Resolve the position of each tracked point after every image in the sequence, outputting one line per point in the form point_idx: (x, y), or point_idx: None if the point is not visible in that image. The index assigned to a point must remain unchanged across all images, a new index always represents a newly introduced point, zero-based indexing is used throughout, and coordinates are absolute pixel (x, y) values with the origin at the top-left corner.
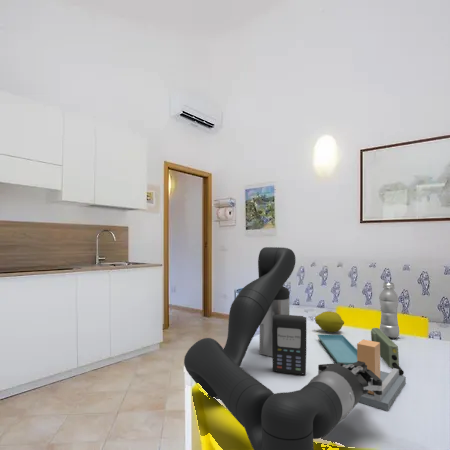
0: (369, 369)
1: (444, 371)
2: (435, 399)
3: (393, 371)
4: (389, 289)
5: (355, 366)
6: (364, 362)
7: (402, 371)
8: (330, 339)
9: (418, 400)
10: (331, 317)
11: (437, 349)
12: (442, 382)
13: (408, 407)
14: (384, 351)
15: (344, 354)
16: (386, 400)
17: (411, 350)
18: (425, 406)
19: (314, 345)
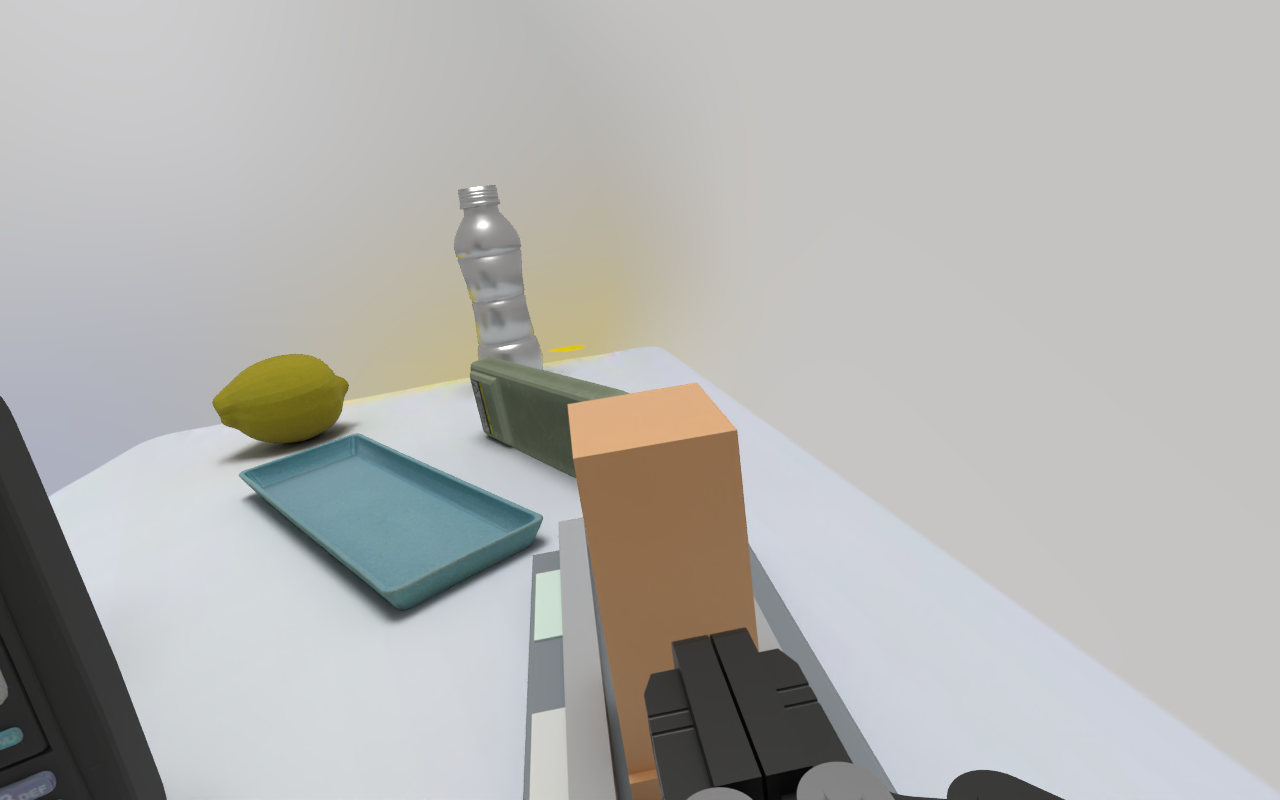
0: (710, 630)
1: (768, 427)
2: (922, 573)
3: None
4: (485, 209)
5: (748, 788)
6: (746, 632)
7: None
8: (308, 471)
9: (893, 627)
10: (288, 378)
11: (667, 370)
12: (821, 471)
13: (936, 725)
14: (563, 436)
15: (396, 519)
16: None
17: None
18: (964, 652)
19: (232, 533)
